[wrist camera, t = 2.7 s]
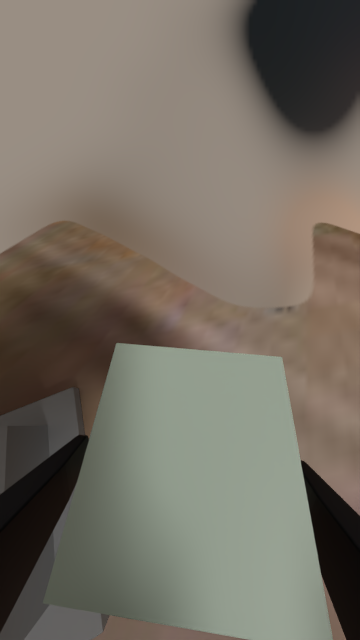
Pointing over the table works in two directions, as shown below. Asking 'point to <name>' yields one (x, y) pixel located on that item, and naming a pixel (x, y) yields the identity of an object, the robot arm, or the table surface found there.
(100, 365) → the table surface
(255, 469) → the sage block
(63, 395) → the grey square socket base
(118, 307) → the table surface
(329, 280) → the table surface
